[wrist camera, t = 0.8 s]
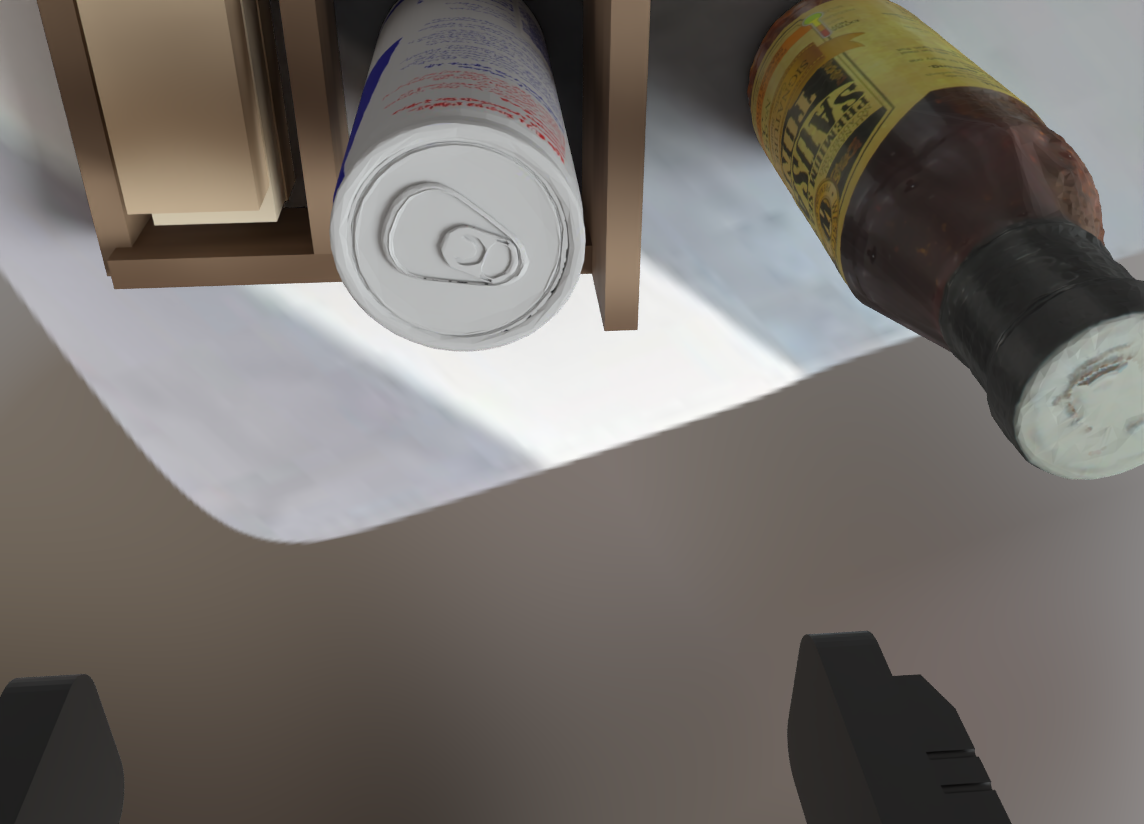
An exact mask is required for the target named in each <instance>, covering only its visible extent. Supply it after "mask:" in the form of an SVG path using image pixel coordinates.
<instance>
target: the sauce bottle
mask: <svg viewBox="0 0 1144 824" xmlns="http://www.w3.org/2000/svg"><path fill="white" fill-rule="evenodd" d="M749 79H750V81H749V85H748V89H747V95H748V98H749V106H750V109H751V115H752V124H753V127H754V130H755V133H756V136H757V139H758V141H759V143H760V145H761V147H762V148H763V150H764V152H765V153H766V155H767V157H768V158H769V160H770V162H771V163H772V165H773V166H774V168H775V170H776V171H777V173H778V174H779V176H780V178H781V179H782V181H783V182H784V184H785V185H786V187H787V189H788V190H789V192H790V193H791V195H792V196H793V198H794V200H795V202H796V204H797V206H798V207H799V209H800V210H801V211H802V213H803V214H804V216H805V218H806V219H807V221H808V222H809V224H810V225H811V227H812V229H813V230H814V232H815V233H816V235H817V236H818V238H819V240H820V241H821V243H822V245H823V246H824V248H825V250H826V251H827V253H828V254H829V256H830V258H831V259H832V261H833V263H834V264H835V266H836V268H837V270H838V272H839V273H840V275H841V276H842V278H843V280H844V281H845V283H846V284H847V285H848V287H849V288H850V290H851V292H852V293H853V294H854V296H855V297H856V298H857V299H858V300H859V301H860V302H861V303H862V304H864V305H866V306H868V307H870V308H872V309H873V310H875V311H877V312H879V313H881V314H883V315H884V316H886V317H888V318H890V319H892V320H893V321H895V322H897V323H899V324H901V325H903V326H904V327H906V328H908V329H910V330H912V331H914V332H915V333H917V334H919V335H921V336H923V337H925V338H926V339H928V340H930V341H932V342H934V343H936V344H938V345H939V346H941V347H943V348H945V349H947V350H948V351H950V352H952V353H953V355H954V356H955V357H957V358H958V359H959V360H960V361H961V362H962V363H963V364H964V365H965V366H967V367H968V368H969V369H970V370H971V372H972V374H973V375H974V377H975V378H976V379H977V381H978V382H979V383H980V385H981V386H982V387H983V388H984V390H985V391H986V393H987V401H988V405H989V408H990V412H991V415H992V417H993V418H994V420H995V421H996V423H997V424H998V426H999V427H1000V429H1001V430H1002V431H1003V433H1004V435H1005V436H1006V437H1007V438H1008V440H1009V441H1010V442H1011V443H1012V444H1013V445H1014V446H1015V448H1016V449H1017V450H1018V451H1019V453H1020V454H1021V455H1022V456H1023V457H1024V459H1025V460H1026V461H1028V462H1029V463H1030V464H1032V465H1034V466H1035V467H1037V468H1039V469H1042V470H1043V471H1046V472H1048V473H1050V474H1053V475H1057V476H1060V477H1063V478H1067V479H1088V480H1090V479H1097V478H1102V477H1108V476H1113V475H1116V474H1120V473H1123V472H1126V471H1128V470H1131V469H1133V468H1135V467H1137V466H1139V465H1141V464H1144V281H1141V280H1136V279H1134V278H1133V277H1132V276H1131V275H1130V274H1129V273H1128V271H1127V270H1126V269H1125V268H1124V267H1123V266H1122V265H1121V264H1119V263H1117V262H1116V261H1114V260H1113V258H1112V256H1111V254H1110V252H1109V251H1108V250H1107V249H1106V247H1105V244H1104V242H1103V237H1104V232H1105V231H1104V229H1103V225H1102V212H1101V205H1100V202H1099V194H1098V191H1097V190H1096V188H1095V185H1094V182H1093V179H1092V176H1091V175H1090V173H1089V171H1088V170H1087V168H1086V166H1085V164H1084V163H1083V162H1082V161H1081V159H1080V158H1079V156H1078V155H1077V153H1076V152H1075V151H1074V150H1073V148H1072V147H1071V146H1069V145H1068V144H1067V143H1066V142H1065V140H1064V138H1063V137H1062V136H1060V135H1058V134H1056V133H1055V132H1054V131H1052V130H1050V129H1049V128H1048V127H1046V125H1045V123H1044V122H1043V121H1042V120H1041V119H1040V117H1039V116H1038V115H1037V114H1036V113H1035V112H1034V111H1033V110H1032V109H1031V108H1030V107H1029V106H1028V105H1027V104H1025V103H1024V102H1023V101H1022V100H1020V99H1019V98H1018V97H1016V96H1015V95H1014V94H1013V93H1011V92H1010V91H1009V90H1008V89H1007V88H1005V87H1004V86H1003V85H1002V84H1000V83H999V82H998V81H996V80H995V79H994V78H993V77H991V76H990V75H989V74H987V73H986V72H985V71H983V70H982V69H981V68H980V67H978V66H977V65H976V64H975V63H974V62H972V61H971V60H970V59H968V58H967V57H966V56H965V55H963V54H962V53H961V52H960V51H958V50H957V49H956V48H955V47H953V46H952V45H951V44H950V43H948V42H947V41H946V40H945V39H944V38H942V37H941V36H940V35H939V34H938V33H937V32H935V31H934V30H933V29H931V28H930V27H929V26H927V25H926V24H925V23H923V22H922V21H921V20H920V19H919V18H918V17H916V16H915V15H913V14H912V13H910V12H909V11H907V10H906V9H905V8H903V7H901V6H899V5H897V4H895V3H893V2H891V1H889V0H803V1H800V2H799V3H797V4H796V5H794V6H793V7H792V8H791V9H790V10H788V11H786V12H785V14H783V15H782V16H781V17H780V18H779V19H777V20H776V21H775V23H774V24H773V25H772V26H771V28H770V29H769V31H768V32H767V34H766V36H765V37H764V39H763V40H762V42H761V45H760V47H759V49H758V51H757V53H756V55H755V57H754V61H753V64H752V66H751V68H750V73H749Z"/></svg>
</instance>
